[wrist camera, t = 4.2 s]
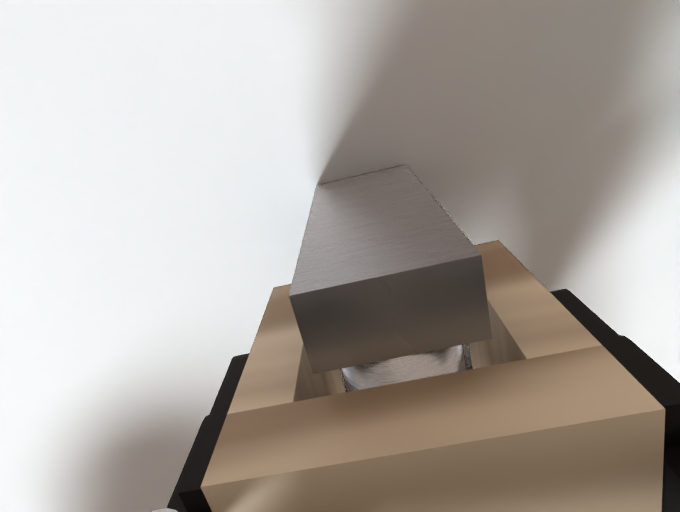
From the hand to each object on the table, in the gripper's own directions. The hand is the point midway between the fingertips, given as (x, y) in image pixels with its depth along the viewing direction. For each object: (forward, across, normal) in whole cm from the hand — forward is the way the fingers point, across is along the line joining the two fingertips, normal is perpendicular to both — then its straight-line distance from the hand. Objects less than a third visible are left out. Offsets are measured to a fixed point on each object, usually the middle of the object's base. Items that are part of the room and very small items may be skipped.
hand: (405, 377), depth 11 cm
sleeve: (+2, 0, 0) cm, 2 cm away
